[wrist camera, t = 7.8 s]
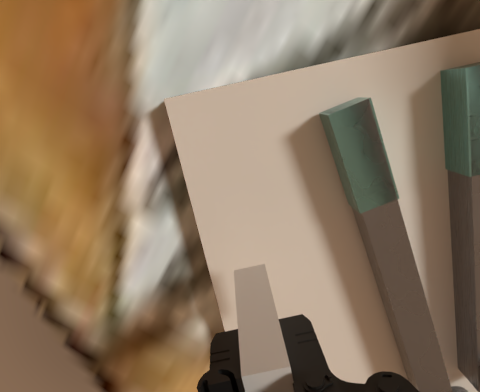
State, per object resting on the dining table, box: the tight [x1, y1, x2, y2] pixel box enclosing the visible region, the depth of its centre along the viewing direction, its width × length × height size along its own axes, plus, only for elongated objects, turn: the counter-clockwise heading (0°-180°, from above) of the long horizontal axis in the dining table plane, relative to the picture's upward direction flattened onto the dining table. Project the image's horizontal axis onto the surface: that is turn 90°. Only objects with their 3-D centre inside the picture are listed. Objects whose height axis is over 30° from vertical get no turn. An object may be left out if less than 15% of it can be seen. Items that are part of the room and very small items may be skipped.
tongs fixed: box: [440, 62, 480, 392], centre depth 20 cm, size 22×4×4 cm, turn 12°
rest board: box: [164, 29, 480, 392], centre depth 21 cm, size 24×18×1 cm
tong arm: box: [319, 97, 452, 392], centre depth 19 cm, size 18×2×2 cm, turn 22°
